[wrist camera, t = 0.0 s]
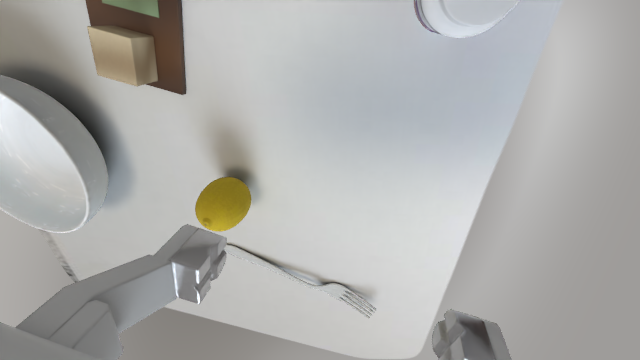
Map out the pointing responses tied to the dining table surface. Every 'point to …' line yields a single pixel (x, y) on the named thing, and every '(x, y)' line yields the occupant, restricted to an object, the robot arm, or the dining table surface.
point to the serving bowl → (47, 161)
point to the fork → (331, 289)
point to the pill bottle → (461, 15)
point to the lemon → (223, 204)
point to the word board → (162, 35)
